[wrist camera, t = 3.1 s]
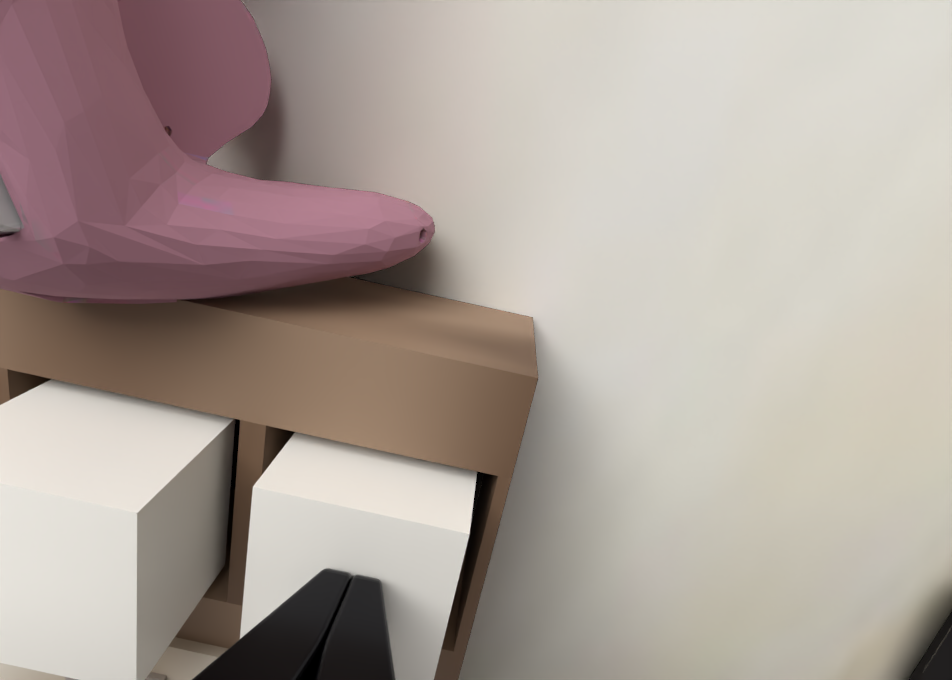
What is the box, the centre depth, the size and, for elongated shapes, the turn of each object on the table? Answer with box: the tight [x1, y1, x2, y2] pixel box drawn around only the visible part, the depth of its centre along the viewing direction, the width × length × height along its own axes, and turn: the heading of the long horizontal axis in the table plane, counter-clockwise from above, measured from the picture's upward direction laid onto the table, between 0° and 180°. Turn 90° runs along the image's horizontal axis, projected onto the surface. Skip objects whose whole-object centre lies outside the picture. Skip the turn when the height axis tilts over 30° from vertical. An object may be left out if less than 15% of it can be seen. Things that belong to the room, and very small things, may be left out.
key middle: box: [0, 379, 235, 680], centre depth 8 cm, size 3×3×2 cm
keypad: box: [0, 277, 538, 680], centre depth 11 cm, size 12×11×3 cm
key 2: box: [240, 432, 477, 680], centre depth 9 cm, size 3×3×2 cm
